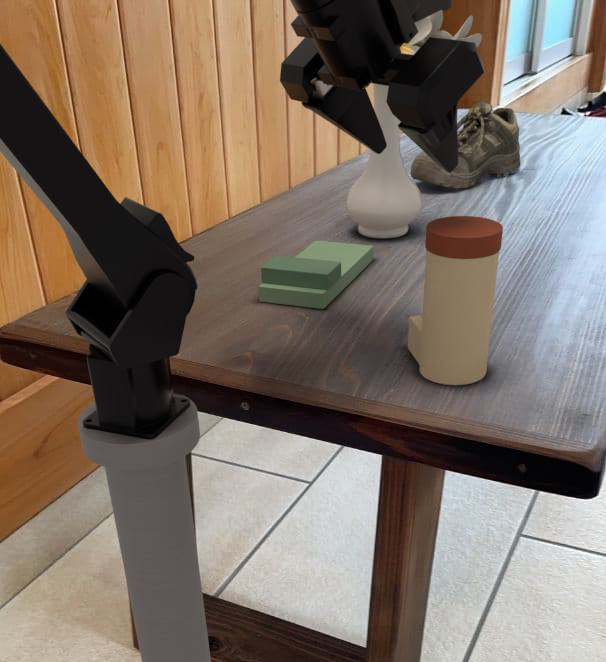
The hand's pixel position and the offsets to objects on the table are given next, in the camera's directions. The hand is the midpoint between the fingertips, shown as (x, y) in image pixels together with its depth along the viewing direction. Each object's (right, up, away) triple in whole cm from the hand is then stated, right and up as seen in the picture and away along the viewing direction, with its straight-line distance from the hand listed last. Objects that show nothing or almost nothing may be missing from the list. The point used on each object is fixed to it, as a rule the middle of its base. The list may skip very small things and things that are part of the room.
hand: (416, 159), depth 72 cm
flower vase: (+1, +6, +34) cm, 34 cm away
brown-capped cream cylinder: (+3, -17, +2) cm, 17 cm away
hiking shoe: (+14, +21, +54) cm, 59 cm away
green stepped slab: (-8, -4, +20) cm, 22 cm away
